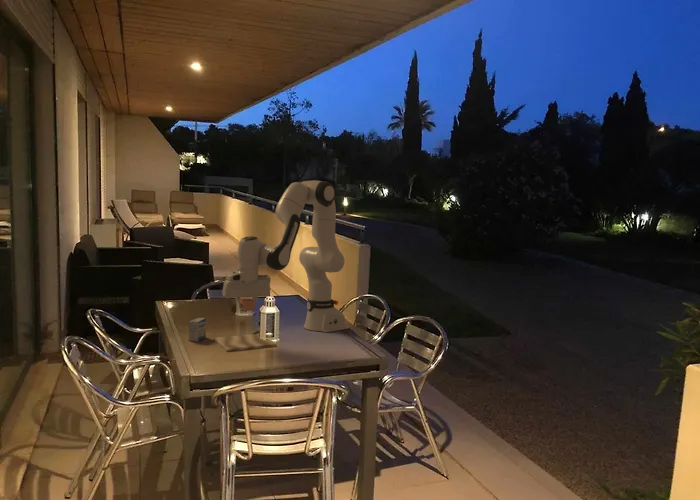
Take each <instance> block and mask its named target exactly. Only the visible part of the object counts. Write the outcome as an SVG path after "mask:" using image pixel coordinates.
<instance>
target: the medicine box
mask: <svg viewBox="0 0 700 500" xmlns="http://www.w3.org/2000/svg"><path fill="white" fill-rule="evenodd" d="M206 337H207V318H205V317H196V318H194V319H192V320H190V321H188V342H189V341H190V342H200V341H202V340H204V339H205V338H206Z"/></svg>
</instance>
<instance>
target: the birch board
mask: <svg viewBox="0 0 700 500" xmlns="http://www.w3.org/2000/svg"><path fill="white" fill-rule="evenodd" d="M259 334H260V333H251V334H239V335H231V336H230V335H229V336H221V337H220V336H219V337H213V342H215V343H216V344H217V345H218V346H219V347H220V348H222V349H223V350H224V352H226V353H227V352H235V351H244V350H246V349H247V350H254V349H255V350H256V349H264V348H273V347H277V346H278V344H277V342H274V340H272V339H270V340H263V339H260V338H259Z"/></svg>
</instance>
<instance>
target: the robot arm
mask: <svg viewBox="0 0 700 500" xmlns="http://www.w3.org/2000/svg"><path fill="white" fill-rule="evenodd" d="M334 187H335V186H333V184H332V183H330V182H328V181H325V180H324V181H323V180H322V181H321V180H314V179H313V180H300V181H295V182H291V183H290V184H289V186H288V187H287V188H286V189H285V191H284V192H283V194H282V196H280V199H279V200H278V202H277V204H276V207H275V215H276V217H277V219H278V220H279V221H280V223H282V224H283V225H284V229H283V232H282V235H281V237H280V240H279V242H278V243H277V244H275V245H271V244H267V243H266V242H263V241H262V240H260V239H259V237H257V236H253V235H252V236H245V237H243V238H240V241H239V243H238V247H237V248H238V249H237V259H238V260H237V262H238V264H237V267H236V269H237V270H233V271H230V272H228V273H225V280H224V282H223V287H222V296H223V297H224V298H225V299H233V298H234V299H235V301H236V303H238V306H237V307H238V309H241V308H242V305H243V304H242V303H240V301H239V300H240V297H248V298H252V300H254V301H255V304H256V303H257V301H258V300H259V299H258V298H260V297H262V298H263V297H269V296H270V295H271V277H270V276H269V275H268V274H259V267H264V268H269V269H272V270H275V271H282V270H284V269H286V267H287V266H288V265H289V263H290V260H291V253H292V250H293V247H294V244H295V243H296V242H295V241H296V239H297V236H298V233H299V230H300V228H301V214H302V212H303V209H304V208H305V205H306V204H307V205H312V206H313V212H312V222H311V223H312V225H311V235H312V237H313V238H314V240H315V241H316V244H317V246H307V247H304V248H302V249H301V251H300V253H299V259H298V260H299V262H300V264H301V265H302V268H303V269H304V270H305V273H306V275H307V276H306V277H307V279H308V280H307V282H308V298H307V302H306V308H307V312H306V318H305V321H304V325H303V329H306V330H309V331H314V332H315V331H316V332H324V333H329V332H336V331H341V330H342V331H343V330H347V329H350V328H351V326H350V324H349V323H347V322H346V317H345V314H344V313H343V312H341V311H340V310H339V309H338V308H337V307H335V306H338V304H339V301H338V300H336V299H335V300H334V299H332V292H333V291H332V289H333V288H332V287H333V284H332V281H331V280H330V279H329V278H328V276H327V273H330V274H331V273H339V272H341V271H342V269H343V268H344V266H345V262H346V261H345V256H344V255H343V253H342V252H341V251H340V249H339V247H338V243H337V240H336V224H337V222H336V221H337V220H336V218H337V216H336V215H337V211H336V210H337V208H336V203H335V202H336V201H335V196H336V191H335V188H334Z"/></svg>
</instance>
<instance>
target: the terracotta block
mask: <svg viewBox="0 0 700 500" xmlns="http://www.w3.org/2000/svg"><path fill="white" fill-rule="evenodd" d="M239 301H240V303H242V304H243V305H242V308H240V309H242V310H243V311H245V312H249V311H251V312H252V311H255V305H256V303H255V301H254V299H253V298H251V297H240V300H239ZM236 303H237V302H236ZM236 306H237V307H238V303H237V304H236Z"/></svg>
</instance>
